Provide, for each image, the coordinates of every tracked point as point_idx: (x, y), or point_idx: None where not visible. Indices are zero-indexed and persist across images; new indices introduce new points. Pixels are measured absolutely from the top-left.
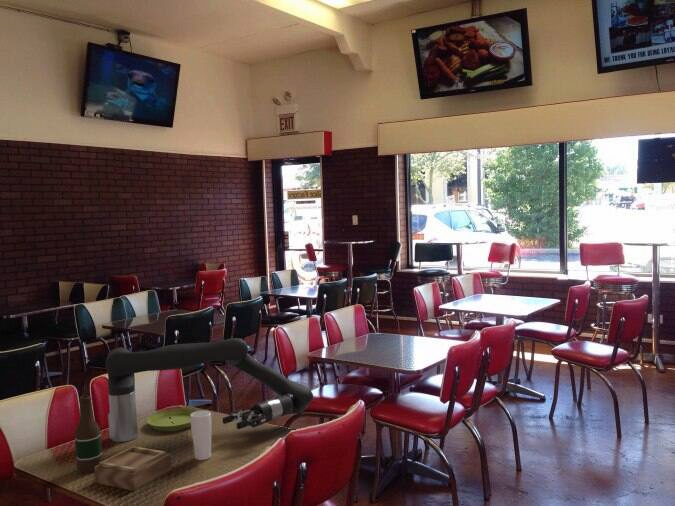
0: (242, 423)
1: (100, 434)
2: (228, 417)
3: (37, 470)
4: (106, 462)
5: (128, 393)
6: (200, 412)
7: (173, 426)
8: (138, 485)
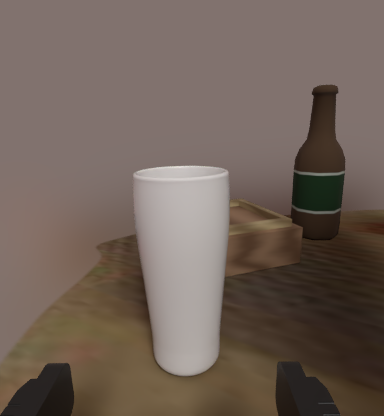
0: (15, 406)
1: (316, 174)
2: (294, 411)
3: (352, 213)
4: (241, 204)
5: None
6: (220, 181)
7: None
8: None
